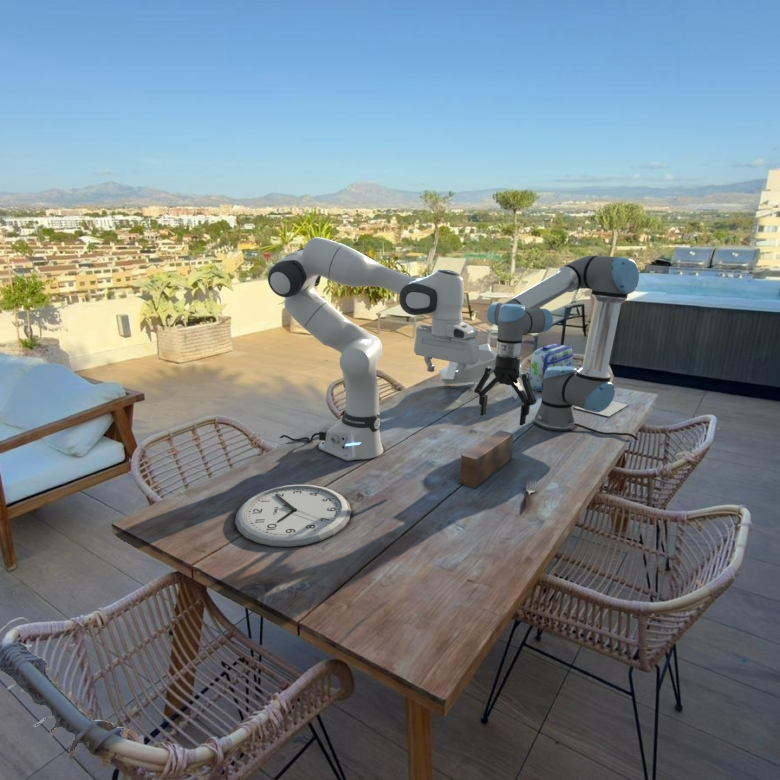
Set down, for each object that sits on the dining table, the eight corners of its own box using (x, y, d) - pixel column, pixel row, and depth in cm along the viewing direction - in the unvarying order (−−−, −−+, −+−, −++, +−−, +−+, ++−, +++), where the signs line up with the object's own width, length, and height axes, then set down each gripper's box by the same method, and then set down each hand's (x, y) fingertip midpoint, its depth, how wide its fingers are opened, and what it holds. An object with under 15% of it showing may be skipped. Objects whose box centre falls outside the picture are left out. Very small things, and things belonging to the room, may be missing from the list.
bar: (497, 455, 176) (499, 429, 174) (511, 458, 174) (513, 433, 171) (459, 483, 157) (461, 455, 154) (474, 488, 154) (476, 459, 151)
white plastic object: (461, 429, 252) (437, 405, 227) (444, 352, 274) (420, 323, 250) (535, 404, 240) (518, 377, 215) (510, 326, 262) (492, 293, 237)
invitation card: (608, 416, 214) (573, 407, 224) (608, 416, 214) (573, 408, 224) (628, 404, 229) (594, 396, 238) (628, 405, 229) (594, 397, 238)
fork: (520, 510, 142) (521, 503, 141) (526, 484, 156) (527, 478, 155) (530, 512, 141) (531, 505, 140) (535, 486, 155) (536, 480, 154)
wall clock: (351, 538, 125) (223, 542, 122) (351, 544, 125) (223, 548, 123) (350, 480, 153) (246, 482, 151) (350, 485, 154) (246, 487, 151)
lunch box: (545, 396, 239) (550, 351, 232) (524, 391, 246) (528, 347, 240) (572, 385, 256) (577, 343, 250) (552, 380, 263) (557, 339, 257)
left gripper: (410, 324, 154) (409, 370, 158) (472, 334, 142) (469, 382, 146) (422, 322, 158) (420, 366, 163) (483, 330, 147) (479, 378, 151)
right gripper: (466, 350, 166) (462, 413, 172) (542, 363, 151) (535, 432, 158) (477, 347, 171) (473, 408, 178) (551, 359, 157) (544, 425, 164)
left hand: (444, 374), depth 154 cm, fingers open, 8 cm apart
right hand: (502, 419), depth 168 cm, fingers open, 13 cm apart
